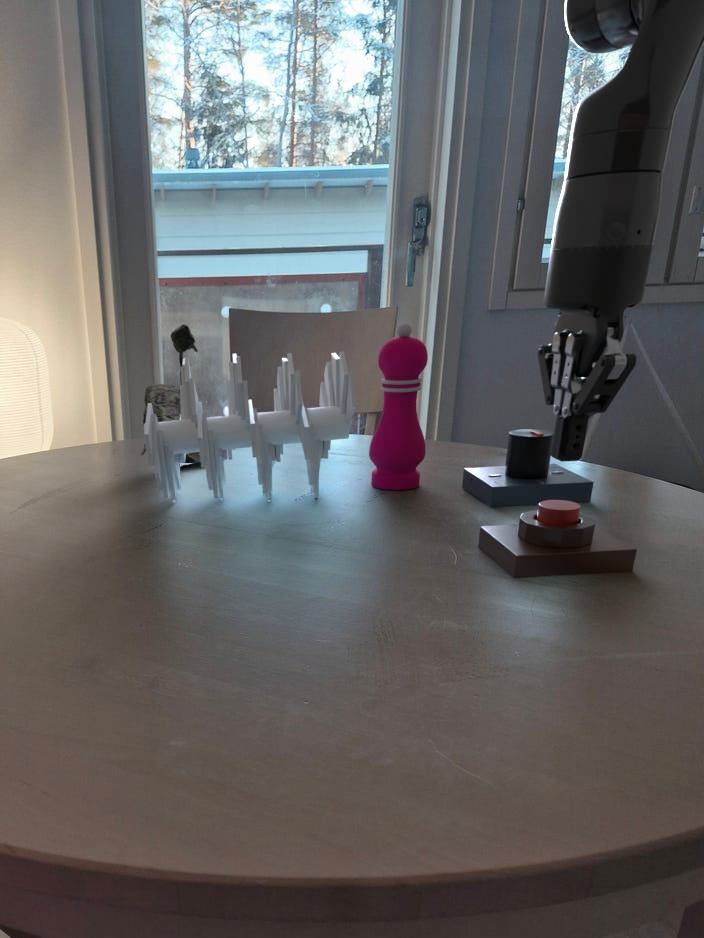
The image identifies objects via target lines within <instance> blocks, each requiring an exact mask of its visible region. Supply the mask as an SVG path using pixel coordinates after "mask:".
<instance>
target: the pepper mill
mask: <svg viewBox="0 0 704 938" xmlns="http://www.w3.org/2000/svg"><path fill="white" fill-rule="evenodd" d="M412 332H413V327H412V325H411V324H410V323H408V322H401V323H400V324H398V326H397V328H396V333H397V335H398V336H395V337H393V338H391V339H389V340H387V341H385V343H384V344H383V345H382V346H381V348H380V350H379V353H378V359H377V363H378V364H377V365H378V368H379V370H380V371H381V373H382V374H383V378H381V380H380V382H381V387H380V390H381V391H382V392H383V406H382V407H383V408H382V413H381V415H380V420H379V422H378V425H377V426H376V429H375V431H374V433H373V435H372V438H371V440H370V444H369V449H368V457H369V460H370V461H371V463H373V465H374V466H375V467H376V468H375V469H373V470H372V472H371V482H370V483H371V484H370V485H372V487H374V488H376V489H380V490H386V491H406V490H407V491H408V490H412V489H416V488H418V487H419V485H420V481H421V480H420V478H421V471H419V470H418V469H417V468H418V467H419V465H420V464H421V463H422V462H423V460H424V459H425V457H426V441H425V436H424V433H423V429H422V427H421V425H420V422H419V417H418V412H417V399H418V392H419V391H420V390H422V386H421V385H422V383H421V382H423V378H421V377H420V376H421V374H422V372H423V371H424V370H425V369H426V367H427V365H428V360H429V358H428V357H429V353H428V350H427V346H426V345H425V343H424V342H423V341H422V340H421V339H419V338H417V337H415V336H411V334H412Z"/></svg>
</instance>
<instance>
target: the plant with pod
mask: <svg viewBox="0 0 704 938" xmlns="http://www.w3.org/2000/svg"><path fill="white" fill-rule="evenodd" d="M170 340H171V342H172V343H173V347H174V350H175V351H176V352H177V353H179V354H178V355H179V357H178V360H179V378H180V379H179V381H180V386H181V385H182V382H181V369H180V367H181V366H182V364H183V359H184V356H183V355H184V353H185V352H187V351H189V350H193V351H194V352H195V353H197V352H198V351H199V350H198V348H197V346H196V345H195V343H196V339H195V337H194V335H193V333H192V331H191V329H190V327H189V326H188V325H187V324H185V323H184V324H181V325H180V326H178V327H177V328H175V329H174V330H173V331H172V332H171V333H170ZM180 386H175V385H170V384H164V383H153V384H149V385H148V386H147V387H146V388H145V393H144V405H145V406H144V407H145V408H144V411H143V420H142V425H143V426H144V424H145V423H146V414H147V406H148V403H152V407H153V414H156V416H157V420H158V422H164V421H175V420H179V419H180V414H181V402H180ZM146 452H147V451H146V446H145V444H144V445H143V448H142V450H141V452H140V456H143V455H145V453H146ZM185 463H194V464H196V463H201V459H200V452H193V453H189V454H186V458H185Z"/></svg>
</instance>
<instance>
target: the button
mask: <svg viewBox="0 0 704 938" xmlns="http://www.w3.org/2000/svg"><path fill="white" fill-rule="evenodd" d="M581 508H582V506H581V505H580V503H575V502H571V501H565V500H546V501H542V502H540V503H539V505H538V508H537V510H538V513H537V520H536V521H538V522H542V523H545V524H550V525H561V526H563V525H576V524H578V520H579V514H580V513H581Z"/></svg>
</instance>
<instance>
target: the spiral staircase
mask: <svg viewBox="0 0 704 938" xmlns="http://www.w3.org/2000/svg"><path fill="white" fill-rule="evenodd" d="M330 353H331V355H330V356H331V359H330V361H326V364H325V367H324V372H323V380H324V381H320V385H319V386H320V387H319V402H318V403H319V405H318V406H319V407H318V406H317V407H305V404H304V400H303V392H302V381H301V370H300V369H295V368H294V367H295V366H294V361H293V355H292V352H287V353H286V354H287V355H286V356H287V357H281V366H277V374H276V385H277V386H276V387H277V388H273V408H274V409H273V411H263V412H258V408H254V407H253V400H252V399H250V398H249V389H248V380H243V374H242V361H241V355H237V353H232V361H229V362H228V367H229V368H228V371H229V378H226V379H225V382H226V394H227V395H226V397H227V406H225V407H224V415H221V416H219V415H218V416H209V417H208V416H207V415H208V414H207V413H206V412H204V411H203V403H202V402H203V401H202V400H199V395H198V392H197V388H196V384H195V379H194V378H192V372H191V365H190V357H188V356H185V357H184V356H183V364H182V366H181V367H180V366H179V370H180V369H181V381H180V383H181V382H182V385H181V384H180V385H179V388H180V402H181V414H180V419H179V420H175V421H164V422H158V420H157V416H156V414H153V407H152V403H148V406H147V414H146V423H145V424H144V425H143V436H144V445H145V446H146V451H145V452H146V455H147V459H148V465H149V467H153V475H154V478H155V481H156V484H157V488H158V491H163V499H170V498H171V501H172V500H176V497H177V498H178V491H182V483H181V467H180V463H185V458H186V454H189V453H193V452H200V459H201V462H200V467H201V469H205V474H206V475H205V476H206V481H207V486H208V491H212V492H213V498H214V499H218V498H219V499H220V498H223V499H224V485H227V480H226V477H227V476H226V467H225V460H229V461H230V460H231V461H232V460H233V451H234V450H236V449H247V448H251V454H252V458H256V459H255V460H256V470H257V481H258V482H257V483H258V485H261V488H262V490H261V491H262V496H264V497H265V496H266V499H267V500H271V501H272V492H273V468H275V464H276V463H280V462H281V455H284V445H292V444H301V446H302V451H303V455H304V456H303V457H304V459H305V462H306V470H307V479H308V485H309V486H310V487H309V488H310V494H313V497H314V499H315V498H319V499H320V497H319V496H320V469H321V460H323V459H324V460H327V459H329V451H331V444H332V441H337V440H348V439H349V438H350V428H351V427H350V424H351V421H352V419H353V418H354V415H355V413H356V410H357V407H358V401H357V389H356V376H355V375H356V374H355V370H352V371H349V370H348V365H347V361H346V355H345V351H344V350H340V351H339V354H337V352H330ZM338 355H339V356H338ZM271 491H272V492H271ZM267 500H266V501H267Z"/></svg>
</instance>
